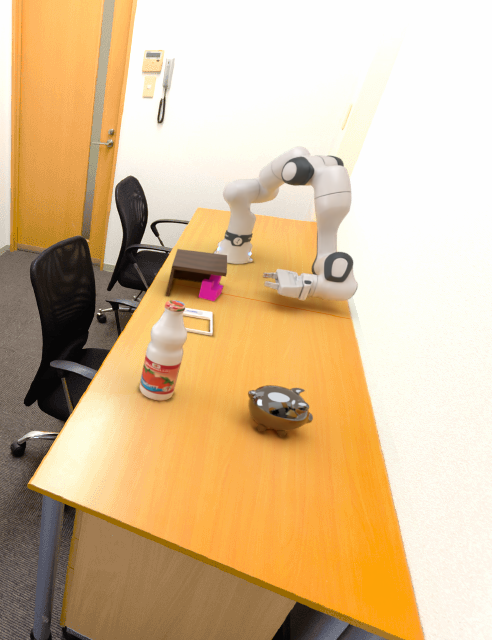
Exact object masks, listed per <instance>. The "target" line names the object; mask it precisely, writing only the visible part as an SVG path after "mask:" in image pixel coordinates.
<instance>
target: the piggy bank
mask: <svg viewBox="0 0 492 640" xmlns="http://www.w3.org/2000/svg"><path fill="white" fill-rule="evenodd" d="M304 392H306V390H305V389H303V388H301V387H292V388H287V387H285V386H280V385H275V384H267V385H262V386H258V387H257V388H256V389H252V390H248V391H247V395H248V412H249V414H250V416H251V418H252V419H253V420H254V422H256V424H257V425H256V430H257V431H258V432H260V433H263V432H265V431H267V429H270V430H274V431H275V432H276V434H277V435H278V436H279V437H285V436H286V434H287V433H288V432H289V431H294V430H297V429H300V428H302V427H304V426H305V425H308V424H311V423H312V422H313V420H314V416H313V413H311V412H310V404H309V403H308V402H306V400H305V399H304V397H303V396H302V395H301V393H304Z"/></svg>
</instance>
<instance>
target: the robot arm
mask: <svg viewBox="0 0 492 640" xmlns="http://www.w3.org/2000/svg"><path fill="white" fill-rule="evenodd" d="M284 184H287V185H290V186H292V187H293V186H295V187H297V186H298V187H300V186H302V187H303V186H306V187H307V186H308V187H310V186H311V187H312V188H313V199H314V200H313V201H314V202H313V203H314V213H315V219H316V256H315V258H314V260H313V262H312V265H311V273H305V272H302V273H300V274H298V272H296V271H294V270H288V269H282V268H277V269H276V270H275V272H263V273H262V278H263V279H273V280H274V282H272V281H269V280H264V283H263V286H264V287H266V288H271V289H272V290H273V289H274V290H276V291H277V294H278V295H280V296H283V297H286V298H292V299H298V300H299V301H306V299H307V298H310V299H311V298H318V299H320V300H324V301H333V302H345V301H349V300H350V299H351V298H352V297H353V296H355V294H356V292H357V290H358V287H359V283H358V281H357V280H356V278H355V274H354V259H353V258H352V256H351V255H350V254H349V253H347V252H344V251H338V231H339V229H340V226H341V224H342V222H343V220H344V219H345V218H346V217H347V215H348V214H349V213H350V210H351V206H352V186H351V178H350V174H349V172H348V170H347V168H346V167H345V164H344V161H343V159H342V158H340V157H339V156H335V155H319V154H318V155H317V154H316V155H311V152H310V150H309V149H308V148H306V147H304V146H294V147H292V148H290V149H288V150H286V151H284V152H283V153H281V154H279V155H278V156H276V157H275V158H274V159H273V160H271V161H270V162H268V163H267V164H265V166H263V167H262V168H261V169H260V170H259V173H258V177H255V178H241V179H236V180H232V181H229V182H228V183H227V184H226V185H225V186H224V189H223V192H222V197H223V199H224V201H225V202H226V203H227V204H228V206H229V207H228V208H229V211H230V215H229V221H228V225H227V229H226V230H225V232H224V236H223V239H222V240H221V241H219V242H218V243H217V248H216V250H214V252H213V253H214V254H222V255H227V264H234V265H242V264H248V263H253V261H254V259H253V258H252V257H251V255H252V250H253V244H252V243H251V241H252V238H253V234H254V233H253V231H254V228H255V224H256V221H257V216H256V215H255V213H253V212H252V211H251V205H252V204H263V203H268V202H270V201H273V200H275V199H276V198H277V197H278V194H279V192H280V187H281V186H283V185H284Z"/></svg>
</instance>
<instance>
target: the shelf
mask: <svg viewBox="0 0 492 640" xmlns="http://www.w3.org/2000/svg"><path fill="white" fill-rule="evenodd" d="M227 274H228V263H227V255H222V254H214V252H204V251H197V250H189V249H181V248H177V250H176V252H175V255H174V258H173V261H172V265H171V269H170V273H169V279H168V283H167V288H166V292H165V296H166V297H169V296H170V293H171V290H172V288H173V287H172V286H173V284H174V280H175V279H176V280H181V281H182V280H183V281H189V282H195V283H202V281H203V280H204V279H208V280H209V279H210V276H211V275H218V276H221V278H222V277H227ZM219 285H221V282H220V283H219Z"/></svg>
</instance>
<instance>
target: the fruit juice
mask: <svg viewBox="0 0 492 640" xmlns="http://www.w3.org/2000/svg"><path fill="white" fill-rule="evenodd" d="M185 308H186V303H184V302H182V301H180V300H175V299H172V300H171V299H170V300H167V301H166V302H165V304H164V311H163V313H162V314H161V316H160V317H159V319H158V320H157V321H156V322H155V323H154V324H153V325H152V328H151V329H150V341H149V342H148V344H147V347H146V351H145V356H144V360H143V366H142V371H141V376H140V381H139V391H140V393H141V394H142V395H143V396H144V397H146V398H148V399H151V400H153V401H154V400H155V401H167V400H169V399H171V398H172V396H173V395H174V393H175V388H176V385H177V382H178V376H179V374H180V369H181V365H182V361H183V357H184V345H185V344H186V341H187V339H188V331H187V330H186V328H187V327H186V326H185V321H184V315H183V312H184V310H185Z"/></svg>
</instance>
